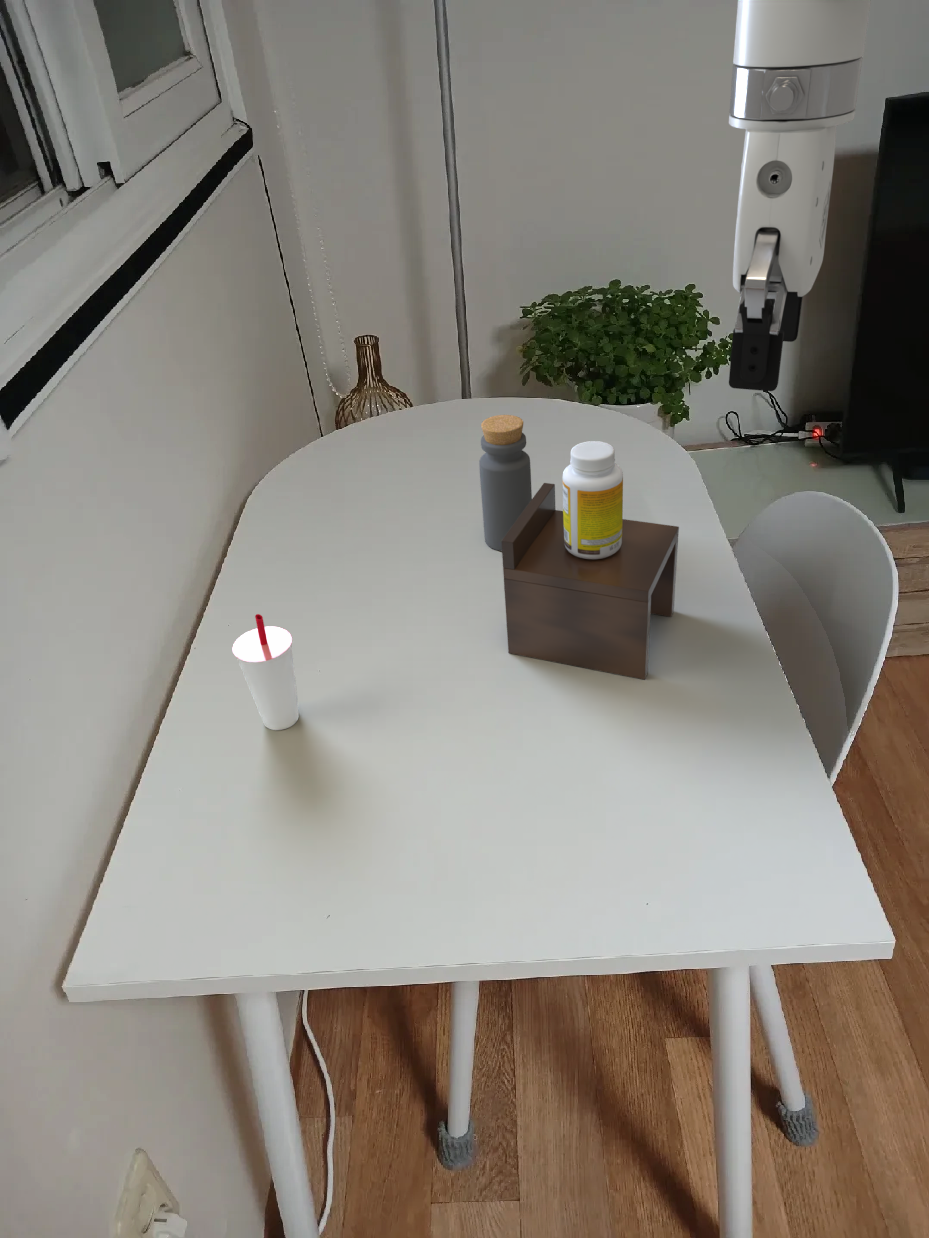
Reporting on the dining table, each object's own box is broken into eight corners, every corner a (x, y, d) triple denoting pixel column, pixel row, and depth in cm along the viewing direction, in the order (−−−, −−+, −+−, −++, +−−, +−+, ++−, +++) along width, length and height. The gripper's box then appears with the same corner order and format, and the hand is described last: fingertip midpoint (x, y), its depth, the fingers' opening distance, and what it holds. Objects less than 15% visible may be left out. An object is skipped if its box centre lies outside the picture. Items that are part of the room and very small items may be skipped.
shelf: (673, 610, 100) (680, 499, 92) (644, 679, 91) (649, 563, 83) (547, 589, 105) (543, 482, 97) (508, 653, 96) (501, 540, 89)
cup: (320, 716, 90) (297, 613, 83) (273, 745, 88) (245, 641, 81) (288, 692, 94) (264, 591, 87) (242, 719, 91) (213, 617, 84)
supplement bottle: (634, 546, 92) (636, 448, 86) (593, 568, 89) (593, 469, 83) (592, 526, 95) (592, 431, 89) (551, 547, 93) (549, 451, 87)
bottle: (487, 554, 112) (478, 436, 103) (482, 529, 117) (474, 415, 108) (536, 549, 112) (532, 430, 103) (529, 524, 117) (525, 409, 108)
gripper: (843, 117, 51) (802, 415, 61) (869, 73, 64) (832, 326, 74) (702, 120, 54) (685, 405, 64) (754, 77, 67) (733, 320, 76)
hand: (764, 362), depth 69 cm, fingers open, 9 cm apart
